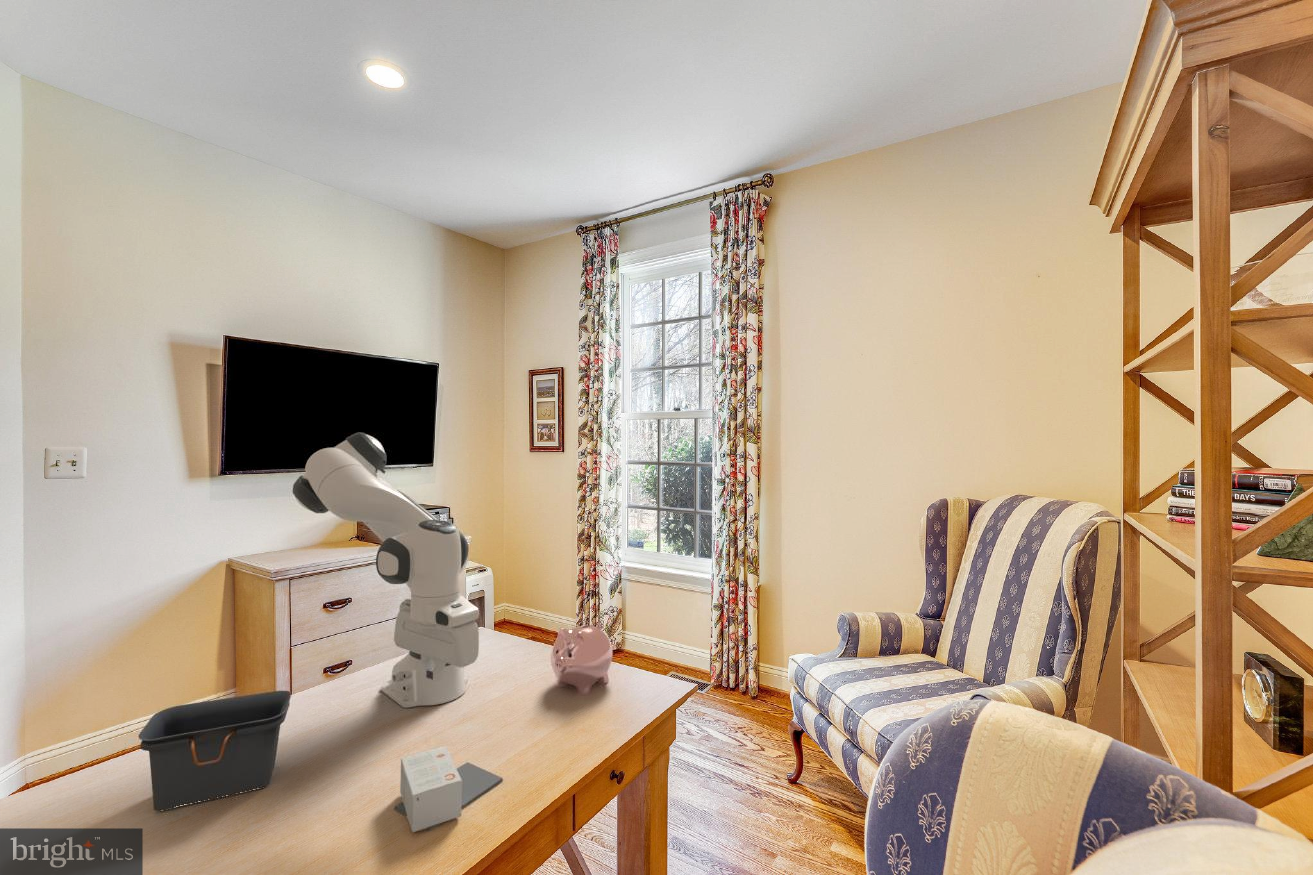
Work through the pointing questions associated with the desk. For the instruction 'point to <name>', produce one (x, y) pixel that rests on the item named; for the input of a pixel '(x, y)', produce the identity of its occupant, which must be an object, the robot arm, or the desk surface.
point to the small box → (430, 788)
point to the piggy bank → (581, 657)
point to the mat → (468, 785)
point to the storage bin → (213, 747)
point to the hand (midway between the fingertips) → (433, 678)
